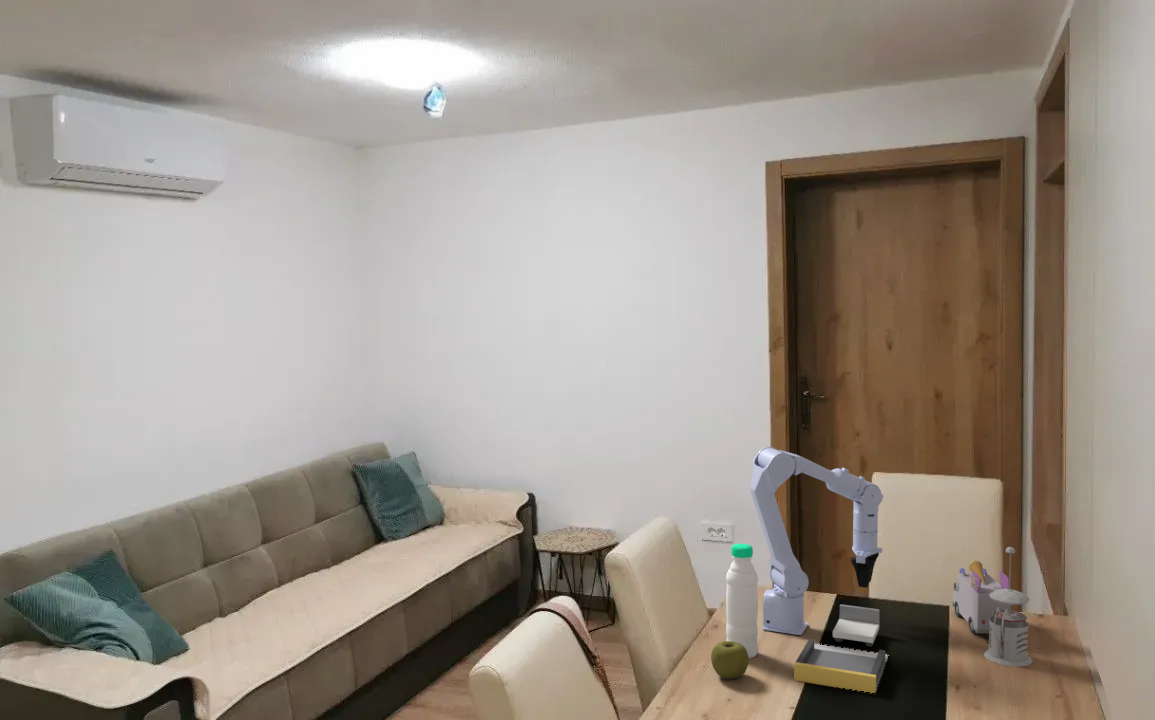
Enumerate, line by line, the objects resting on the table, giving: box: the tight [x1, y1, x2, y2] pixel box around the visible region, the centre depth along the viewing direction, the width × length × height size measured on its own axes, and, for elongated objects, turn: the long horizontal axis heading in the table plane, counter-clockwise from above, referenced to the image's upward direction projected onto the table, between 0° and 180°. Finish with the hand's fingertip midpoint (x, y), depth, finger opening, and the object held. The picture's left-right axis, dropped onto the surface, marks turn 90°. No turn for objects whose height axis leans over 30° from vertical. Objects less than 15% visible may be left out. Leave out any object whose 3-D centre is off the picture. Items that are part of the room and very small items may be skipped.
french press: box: [983, 546, 1033, 668], centre depth 204 cm, size 10×12×25 cm
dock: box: [793, 638, 890, 694], centre depth 201 cm, size 16×22×4 cm
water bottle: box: [725, 543, 759, 659], centre depth 208 cm, size 7×7×25 cm
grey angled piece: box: [832, 604, 880, 648], centre depth 217 cm, size 9×10×6 cm
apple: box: [710, 640, 749, 680], centre depth 197 cm, size 8×8×7 cm
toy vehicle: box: [951, 560, 1012, 635], centre depth 224 cm, size 9×20×15 cm, turn 174°
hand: (864, 584), depth 227 cm, fingers open, 4 cm apart
